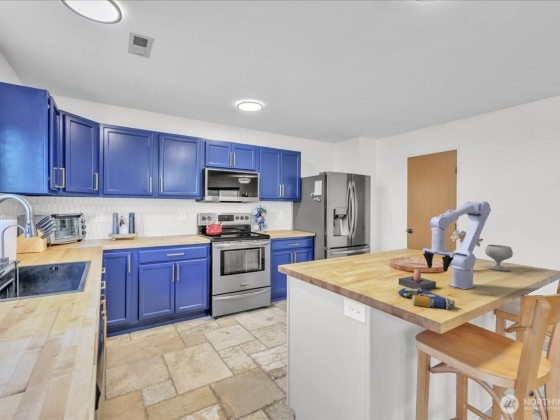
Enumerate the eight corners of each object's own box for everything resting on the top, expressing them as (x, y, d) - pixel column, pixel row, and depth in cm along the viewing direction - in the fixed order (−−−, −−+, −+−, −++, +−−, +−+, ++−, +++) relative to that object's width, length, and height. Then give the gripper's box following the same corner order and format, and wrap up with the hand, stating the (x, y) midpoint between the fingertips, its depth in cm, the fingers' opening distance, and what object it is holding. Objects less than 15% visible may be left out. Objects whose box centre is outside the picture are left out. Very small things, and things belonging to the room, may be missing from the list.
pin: (416, 284, 140) (416, 269, 139) (421, 286, 137) (422, 270, 137) (412, 285, 138) (412, 269, 138) (417, 287, 136) (418, 271, 135)
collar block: (413, 281, 146) (413, 275, 146) (435, 287, 135) (436, 281, 135) (398, 284, 140) (398, 278, 140) (420, 291, 129) (420, 284, 129)
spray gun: (426, 313, 104) (458, 310, 108) (426, 301, 104) (458, 300, 108) (391, 296, 124) (419, 294, 128) (391, 286, 124) (419, 285, 128)
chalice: (516, 270, 176) (517, 246, 176) (506, 272, 169) (507, 248, 169) (490, 265, 189) (491, 243, 188) (480, 267, 182) (481, 245, 181)
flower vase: (473, 275, 161) (475, 232, 161) (443, 268, 178) (444, 229, 177) (486, 273, 167) (488, 232, 166) (456, 266, 184) (457, 229, 183)
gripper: (419, 240, 138) (418, 267, 138) (448, 244, 125) (447, 274, 125) (428, 239, 141) (427, 265, 141) (457, 243, 128) (456, 272, 129)
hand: (437, 269), depth 134 cm, fingers open, 7 cm apart
